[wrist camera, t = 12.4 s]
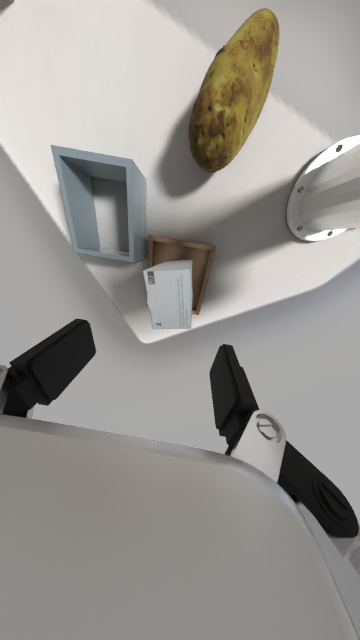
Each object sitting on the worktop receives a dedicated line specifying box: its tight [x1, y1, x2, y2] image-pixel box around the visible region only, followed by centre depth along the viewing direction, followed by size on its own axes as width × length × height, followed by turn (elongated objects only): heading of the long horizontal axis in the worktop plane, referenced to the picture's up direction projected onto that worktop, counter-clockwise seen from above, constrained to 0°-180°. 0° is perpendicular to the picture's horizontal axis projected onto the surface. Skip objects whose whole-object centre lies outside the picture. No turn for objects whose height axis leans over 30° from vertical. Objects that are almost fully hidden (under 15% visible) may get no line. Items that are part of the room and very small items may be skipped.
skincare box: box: [143, 260, 193, 329], centre depth 24 cm, size 8×6×15 cm
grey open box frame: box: [51, 145, 146, 263], centre depth 23 cm, size 11×13×6 cm
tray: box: [147, 235, 216, 315], centre depth 30 cm, size 13×15×2 cm
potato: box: [189, 8, 279, 172], centre depth 16 cm, size 8×13×8 cm, turn 128°
